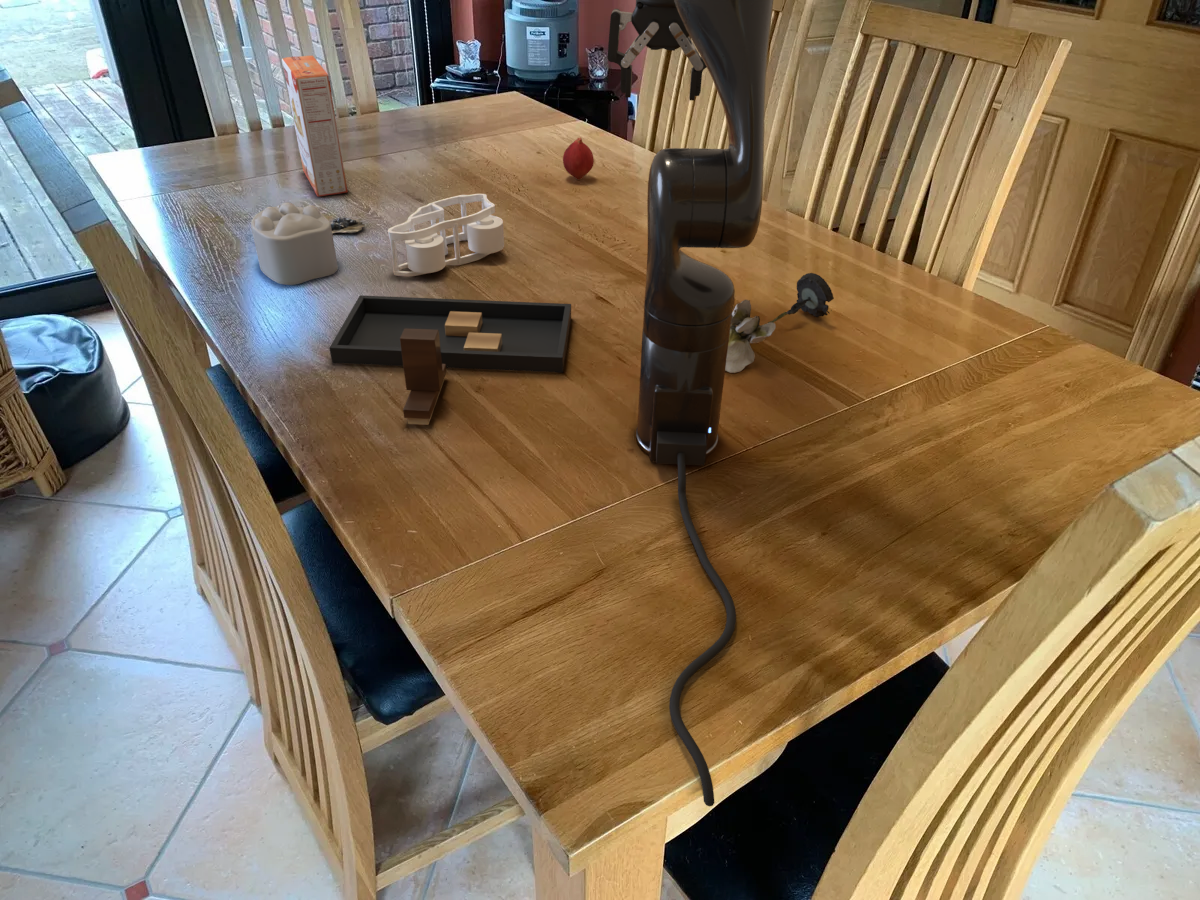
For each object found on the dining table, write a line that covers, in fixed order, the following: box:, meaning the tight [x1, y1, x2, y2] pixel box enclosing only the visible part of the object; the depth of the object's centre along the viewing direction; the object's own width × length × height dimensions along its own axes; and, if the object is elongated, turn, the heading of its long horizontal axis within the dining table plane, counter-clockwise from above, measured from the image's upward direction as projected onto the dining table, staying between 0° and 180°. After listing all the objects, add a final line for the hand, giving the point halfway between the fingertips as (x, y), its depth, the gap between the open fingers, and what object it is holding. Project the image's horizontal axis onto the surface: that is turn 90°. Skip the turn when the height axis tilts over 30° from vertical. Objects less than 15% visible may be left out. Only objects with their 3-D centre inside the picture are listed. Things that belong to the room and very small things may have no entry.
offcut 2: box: [464, 332, 502, 352], centre depth 117 cm, size 4×4×2 cm
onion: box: [562, 137, 595, 181], centre depth 169 cm, size 6×6×8 cm
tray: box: [328, 294, 572, 374], centre depth 119 cm, size 15×30×3 cm, turn 87°
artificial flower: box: [725, 272, 835, 374], centre depth 120 cm, size 9×22×10 cm, turn 129°
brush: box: [400, 328, 447, 426], centre depth 105 cm, size 10×4×10 cm, turn 177°
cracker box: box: [281, 54, 349, 198], centre depth 160 cm, size 14×6×21 cm, turn 25°
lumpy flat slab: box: [330, 216, 366, 234], centre depth 149 cm, size 7×8×2 cm
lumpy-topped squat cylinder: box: [250, 202, 339, 286], centre depth 136 cm, size 10×13×9 cm
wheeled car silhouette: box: [387, 193, 505, 277], centre depth 139 cm, size 20×11×7 cm, turn 132°
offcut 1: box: [445, 311, 482, 336], centre depth 121 cm, size 4×4×2 cm
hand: (660, 97), depth 119 cm, fingers open, 8 cm apart
